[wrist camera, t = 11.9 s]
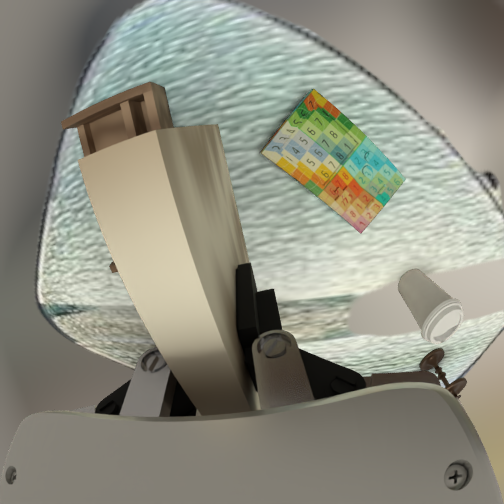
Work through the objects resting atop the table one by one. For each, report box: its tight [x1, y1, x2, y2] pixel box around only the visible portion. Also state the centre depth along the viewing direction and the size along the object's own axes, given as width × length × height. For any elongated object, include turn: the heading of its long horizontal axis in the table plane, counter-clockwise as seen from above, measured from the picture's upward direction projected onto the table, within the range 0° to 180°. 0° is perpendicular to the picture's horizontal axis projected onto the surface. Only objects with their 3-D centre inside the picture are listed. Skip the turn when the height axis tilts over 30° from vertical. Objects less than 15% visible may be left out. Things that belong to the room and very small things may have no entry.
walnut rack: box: [61, 82, 174, 273], centre depth 36 cm, size 24×14×7 cm, turn 11°
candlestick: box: [419, 348, 467, 410], centre depth 50 cm, size 11×11×35 cm
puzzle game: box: [260, 89, 406, 233], centre depth 38 cm, size 12×5×20 cm
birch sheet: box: [78, 124, 261, 416], centre depth 13 cm, size 14×2×14 cm, turn 11°
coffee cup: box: [398, 269, 464, 344], centre depth 44 cm, size 10×10×15 cm
